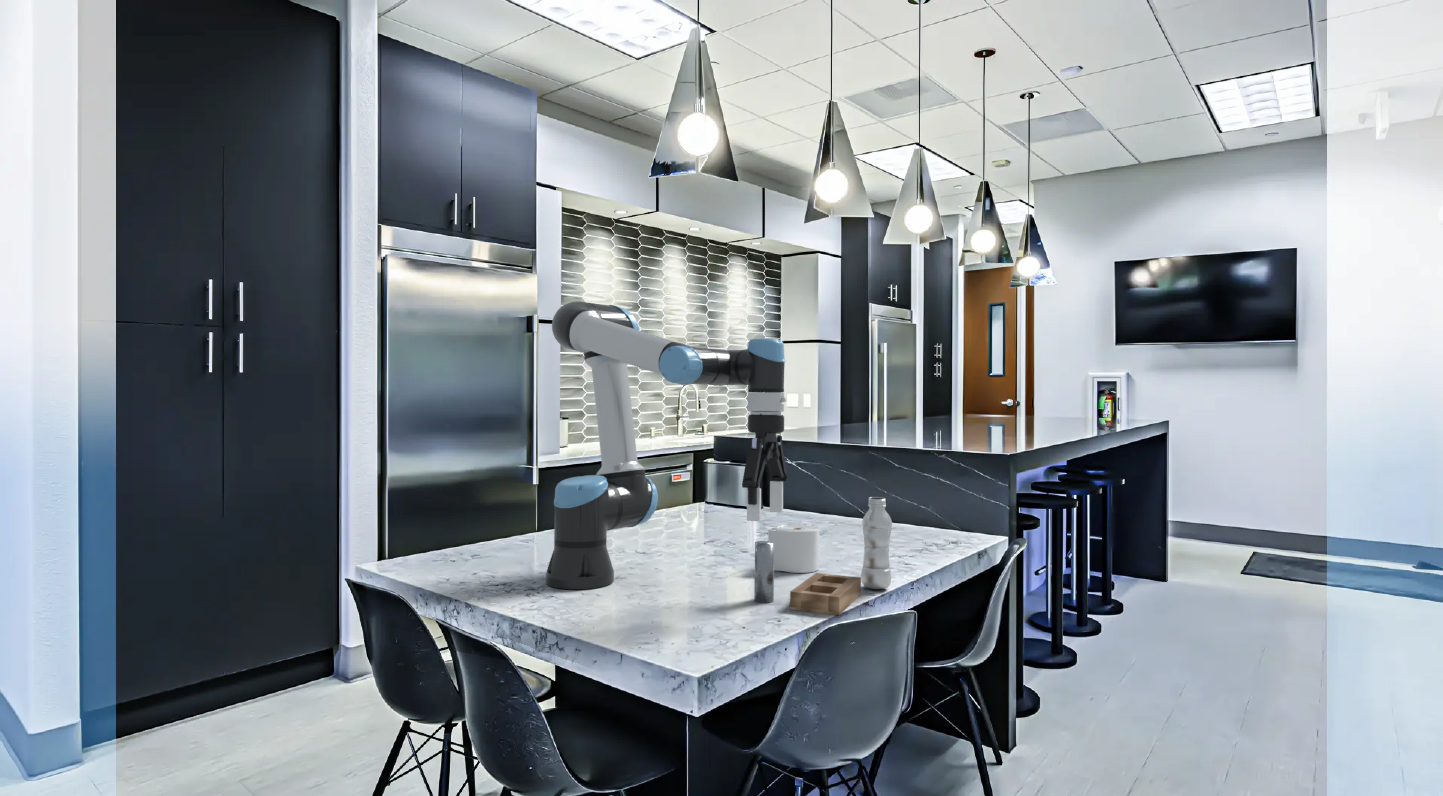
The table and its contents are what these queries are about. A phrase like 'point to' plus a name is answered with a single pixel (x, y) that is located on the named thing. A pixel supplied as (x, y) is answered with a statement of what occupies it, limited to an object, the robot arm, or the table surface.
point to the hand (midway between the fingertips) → (765, 516)
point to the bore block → (825, 593)
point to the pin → (764, 572)
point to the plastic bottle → (876, 545)
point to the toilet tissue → (795, 548)
